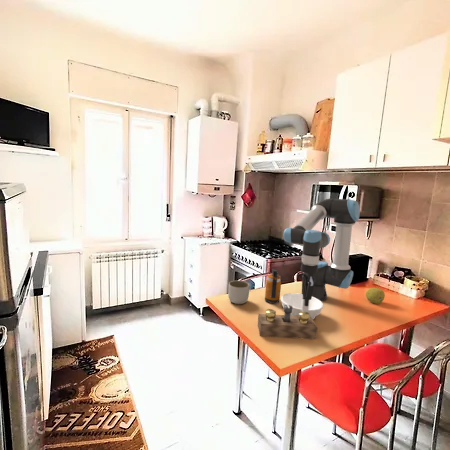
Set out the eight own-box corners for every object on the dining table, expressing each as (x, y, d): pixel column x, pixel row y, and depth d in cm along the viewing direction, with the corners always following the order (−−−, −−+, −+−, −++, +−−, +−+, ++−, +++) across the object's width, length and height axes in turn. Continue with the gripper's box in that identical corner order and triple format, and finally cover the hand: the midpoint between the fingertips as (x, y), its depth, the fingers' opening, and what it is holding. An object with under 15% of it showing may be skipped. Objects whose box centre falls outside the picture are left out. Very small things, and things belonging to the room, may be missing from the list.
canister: (278, 298, 170) (281, 267, 167) (280, 306, 159) (283, 273, 157) (264, 297, 171) (266, 266, 168) (265, 304, 160) (267, 272, 157)
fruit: (387, 305, 171) (389, 289, 169) (374, 306, 167) (376, 291, 166) (373, 298, 180) (375, 284, 179) (361, 300, 177) (363, 285, 175)
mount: (309, 328, 135) (310, 317, 135) (315, 339, 125) (317, 327, 125) (257, 324, 136) (258, 313, 135) (259, 335, 126) (260, 323, 125)
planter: (244, 296, 170) (245, 280, 168) (251, 305, 158) (252, 287, 157) (225, 297, 166) (226, 280, 165) (231, 306, 155) (232, 288, 153)
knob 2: (305, 329, 133) (307, 311, 131) (308, 335, 128) (310, 316, 127) (296, 329, 133) (298, 311, 131) (298, 334, 128) (300, 315, 127)
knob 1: (273, 327, 133) (275, 309, 132) (275, 332, 128) (276, 314, 127) (263, 327, 133) (265, 308, 132) (264, 332, 128) (266, 313, 127)
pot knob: (289, 323, 132) (291, 304, 131) (291, 327, 128) (293, 308, 127) (281, 322, 132) (283, 303, 131) (283, 326, 128) (284, 307, 127)
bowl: (276, 305, 161) (277, 291, 160) (314, 307, 160) (316, 294, 159) (283, 323, 138) (284, 308, 137) (327, 327, 138) (329, 311, 137)
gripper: (298, 259, 132) (293, 304, 136) (305, 267, 119) (300, 317, 123) (313, 260, 132) (308, 305, 136) (322, 268, 119) (317, 318, 123)
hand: (304, 311), depth 129 cm, fingers closed
